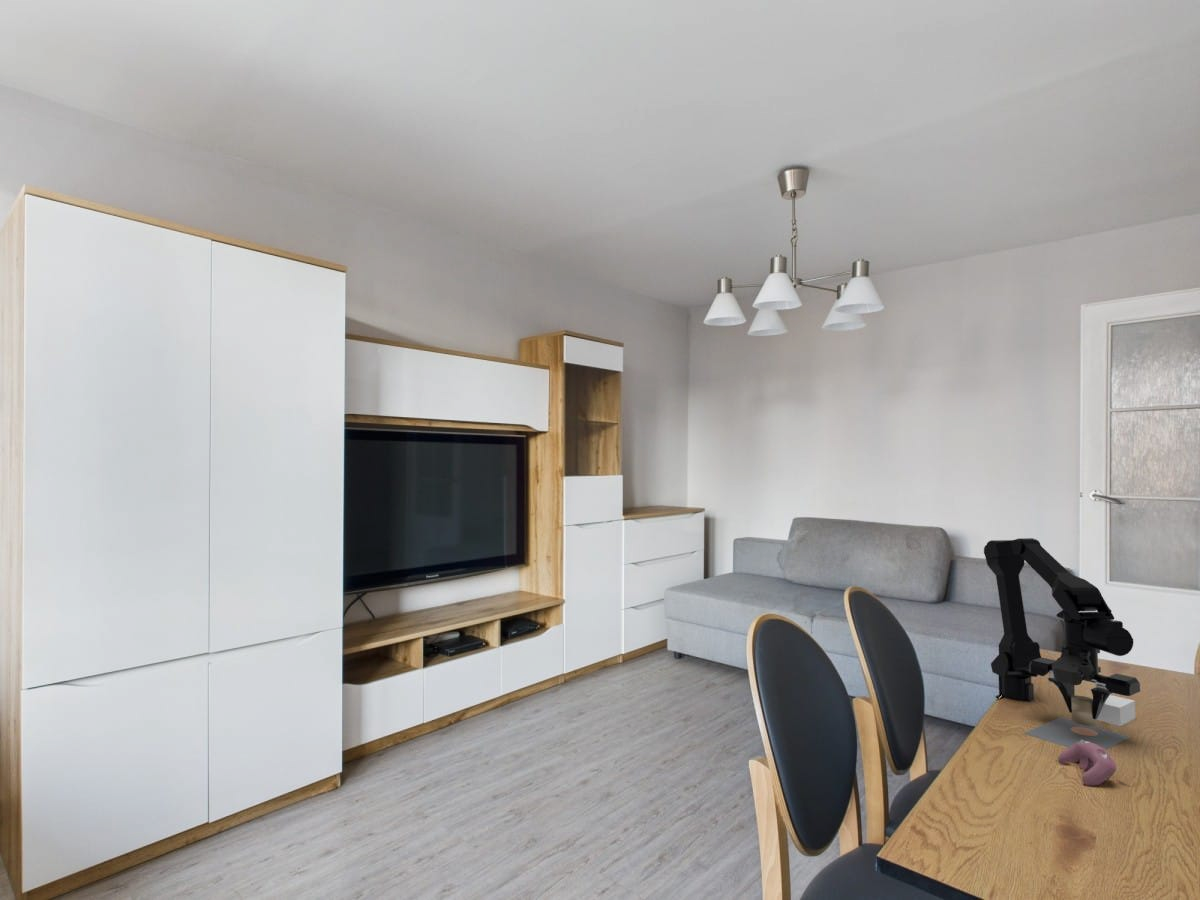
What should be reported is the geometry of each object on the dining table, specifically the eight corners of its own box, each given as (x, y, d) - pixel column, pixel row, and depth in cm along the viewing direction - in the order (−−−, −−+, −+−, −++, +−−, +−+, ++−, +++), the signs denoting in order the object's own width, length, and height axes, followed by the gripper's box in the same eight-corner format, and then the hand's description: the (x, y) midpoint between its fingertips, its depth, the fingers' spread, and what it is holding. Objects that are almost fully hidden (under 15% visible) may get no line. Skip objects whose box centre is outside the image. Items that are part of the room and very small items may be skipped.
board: (1023, 737, 138) (1023, 733, 138) (1061, 720, 147) (1061, 716, 147) (1094, 759, 127) (1094, 755, 127) (1131, 740, 136) (1130, 736, 136)
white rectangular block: (1088, 722, 147) (1087, 699, 147) (1104, 714, 151) (1103, 693, 151) (1120, 730, 142) (1119, 707, 142) (1135, 723, 146) (1134, 700, 146)
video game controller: (1108, 797, 116) (1126, 763, 115) (1082, 784, 117) (1100, 750, 116) (1077, 772, 125) (1094, 740, 125) (1054, 760, 126) (1070, 728, 126)
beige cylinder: (1068, 721, 140) (1067, 697, 140) (1077, 717, 142) (1076, 694, 142) (1090, 727, 136) (1089, 703, 137) (1098, 723, 138) (1097, 699, 139)
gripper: (1015, 638, 144) (1017, 709, 143) (1116, 659, 128) (1119, 739, 127) (1040, 632, 149) (1042, 700, 149) (1139, 650, 133) (1142, 727, 133)
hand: (1083, 715), depth 139 cm, fingers closed on beige cylinder, 4 cm apart
